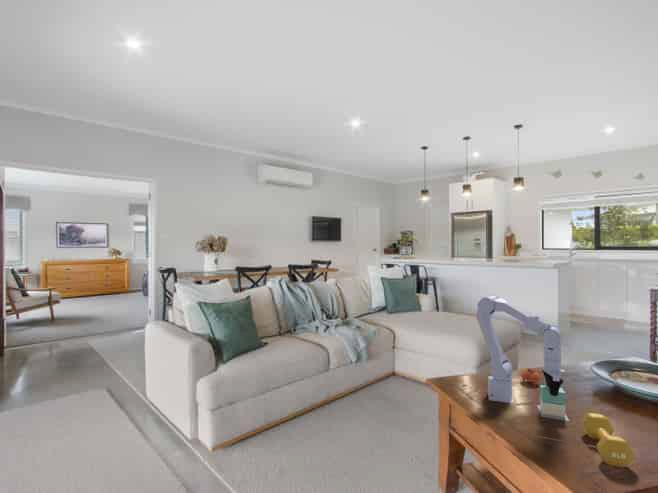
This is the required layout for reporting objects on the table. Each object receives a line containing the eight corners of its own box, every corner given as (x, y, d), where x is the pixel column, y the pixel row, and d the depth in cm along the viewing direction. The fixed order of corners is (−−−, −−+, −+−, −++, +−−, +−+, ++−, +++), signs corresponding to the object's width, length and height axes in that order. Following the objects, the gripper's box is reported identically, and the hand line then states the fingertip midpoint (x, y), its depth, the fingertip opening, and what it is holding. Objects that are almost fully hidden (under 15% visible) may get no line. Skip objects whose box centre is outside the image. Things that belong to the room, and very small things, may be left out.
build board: (541, 417, 132) (541, 416, 132) (536, 405, 141) (536, 404, 141) (569, 422, 128) (569, 420, 128) (562, 409, 138) (562, 408, 138)
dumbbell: (637, 472, 101) (637, 445, 101) (599, 465, 104) (599, 439, 104) (610, 437, 119) (610, 414, 118) (579, 432, 122) (579, 409, 122)
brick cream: (542, 413, 134) (542, 402, 134) (540, 407, 139) (540, 396, 139) (565, 417, 131) (565, 405, 131) (562, 411, 136) (562, 400, 136)
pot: (525, 377, 170) (528, 364, 168) (541, 386, 163) (545, 373, 162) (515, 380, 166) (519, 367, 164) (531, 389, 159) (535, 376, 158)
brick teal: (542, 401, 134) (542, 390, 134) (540, 396, 138) (539, 385, 138) (565, 404, 131) (565, 393, 131) (562, 399, 136) (562, 387, 136)
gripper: (569, 365, 126) (569, 402, 126) (560, 353, 140) (560, 386, 140) (546, 363, 129) (546, 399, 129) (539, 351, 142) (539, 384, 143)
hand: (552, 392), depth 135 cm, fingers closed on brick teal, 5 cm apart
